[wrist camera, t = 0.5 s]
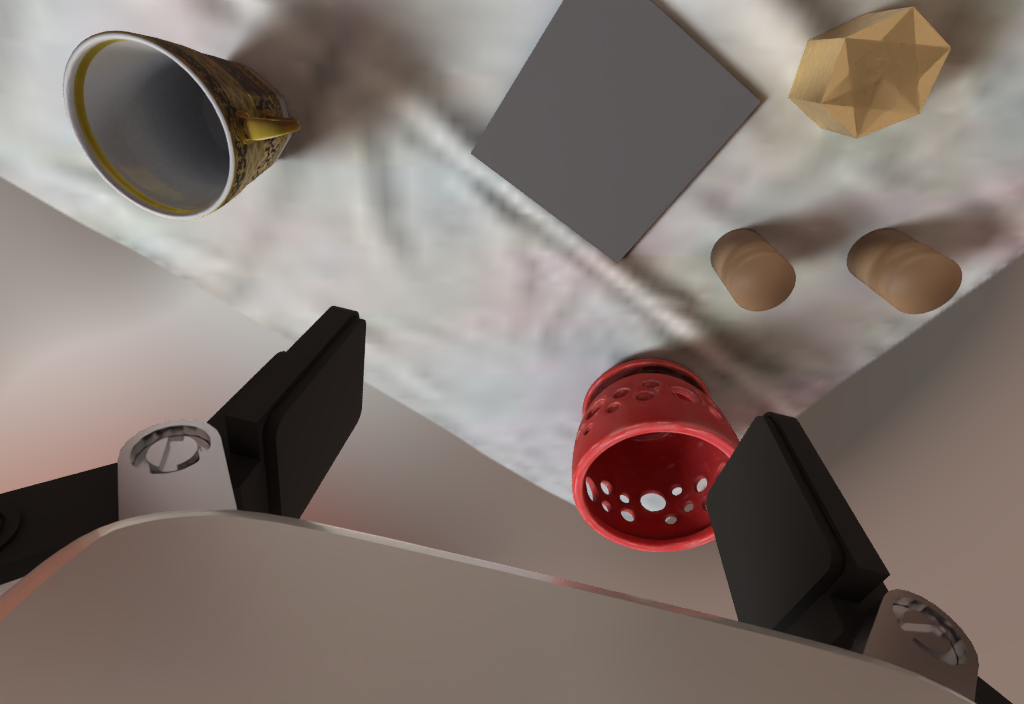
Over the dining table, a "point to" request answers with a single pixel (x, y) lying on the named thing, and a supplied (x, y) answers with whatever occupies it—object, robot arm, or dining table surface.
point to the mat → (612, 119)
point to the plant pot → (649, 454)
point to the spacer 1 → (752, 270)
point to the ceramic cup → (172, 122)
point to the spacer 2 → (904, 271)
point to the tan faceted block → (869, 72)
